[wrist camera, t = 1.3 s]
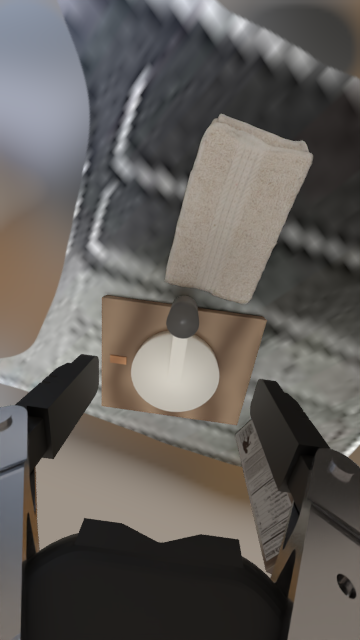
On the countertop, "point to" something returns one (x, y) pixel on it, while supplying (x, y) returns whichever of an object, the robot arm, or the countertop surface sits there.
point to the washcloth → (235, 208)
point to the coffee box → (263, 495)
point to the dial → (176, 363)
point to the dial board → (214, 328)
